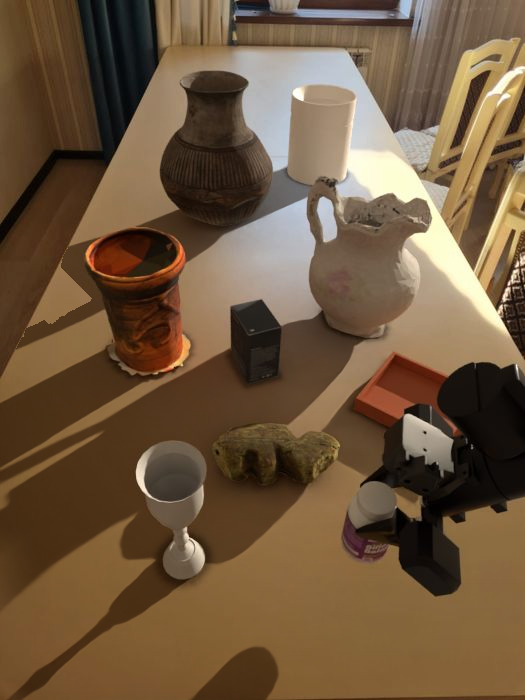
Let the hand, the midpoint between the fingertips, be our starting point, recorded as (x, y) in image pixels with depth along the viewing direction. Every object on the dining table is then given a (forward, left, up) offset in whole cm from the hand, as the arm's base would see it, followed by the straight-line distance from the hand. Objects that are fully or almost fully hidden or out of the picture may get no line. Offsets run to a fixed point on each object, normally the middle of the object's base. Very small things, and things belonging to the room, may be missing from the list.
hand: (359, 510), depth 58 cm
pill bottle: (-1, -1, -7) cm, 7 cm away
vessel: (+45, -12, -11) cm, 48 cm away
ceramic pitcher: (+23, -42, -11) cm, 49 cm away
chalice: (+16, +12, -11) cm, 23 cm away
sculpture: (+15, -6, -11) cm, 20 cm away
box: (+29, -20, -11) cm, 37 cm away
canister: (+60, -91, -11) cm, 110 cm away
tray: (+3, -28, -11) cm, 31 cm away
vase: (+65, -55, -11) cm, 86 cm away
